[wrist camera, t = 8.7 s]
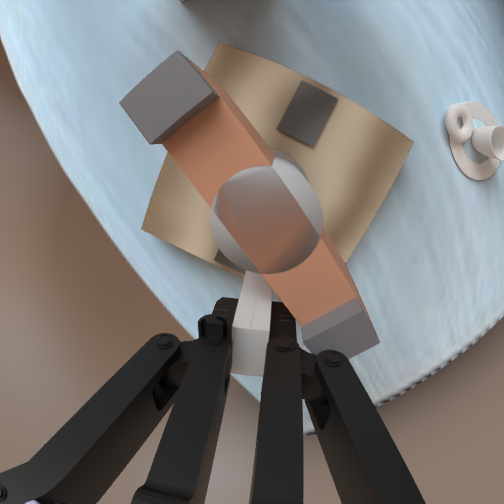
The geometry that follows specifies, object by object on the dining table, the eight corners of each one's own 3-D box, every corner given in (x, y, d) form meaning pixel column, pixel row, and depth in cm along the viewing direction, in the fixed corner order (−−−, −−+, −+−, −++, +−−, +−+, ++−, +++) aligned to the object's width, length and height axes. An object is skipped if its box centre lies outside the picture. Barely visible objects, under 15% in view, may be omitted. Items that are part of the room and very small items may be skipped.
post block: (398, 141, 20) (436, 144, 14) (311, 292, 26) (318, 335, 20) (226, 53, 18) (207, 25, 12) (155, 218, 25) (120, 244, 19)
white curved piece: (428, 118, 19) (452, 117, 15) (471, 81, 16) (496, 77, 12) (469, 194, 21) (493, 205, 17) (508, 153, 18) (532, 159, 14)
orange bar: (180, 123, 15) (105, 116, 8) (234, 82, 14) (195, 37, 7) (301, 286, 18) (311, 376, 11) (353, 256, 17) (394, 334, 10)
